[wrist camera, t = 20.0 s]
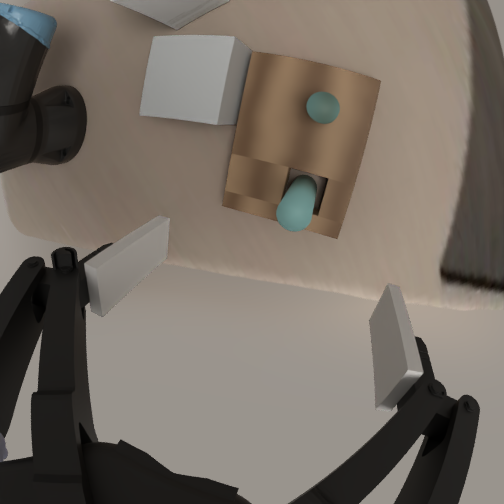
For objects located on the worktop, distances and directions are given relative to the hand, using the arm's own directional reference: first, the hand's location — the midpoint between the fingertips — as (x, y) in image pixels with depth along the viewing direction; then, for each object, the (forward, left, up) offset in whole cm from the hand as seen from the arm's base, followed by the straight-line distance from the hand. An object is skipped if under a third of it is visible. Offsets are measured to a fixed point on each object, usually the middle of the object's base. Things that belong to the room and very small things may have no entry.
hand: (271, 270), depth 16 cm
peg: (0, 0, -23) cm, 23 cm away
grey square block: (-15, +11, -23) cm, 29 cm away
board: (-2, +6, -23) cm, 23 cm away
